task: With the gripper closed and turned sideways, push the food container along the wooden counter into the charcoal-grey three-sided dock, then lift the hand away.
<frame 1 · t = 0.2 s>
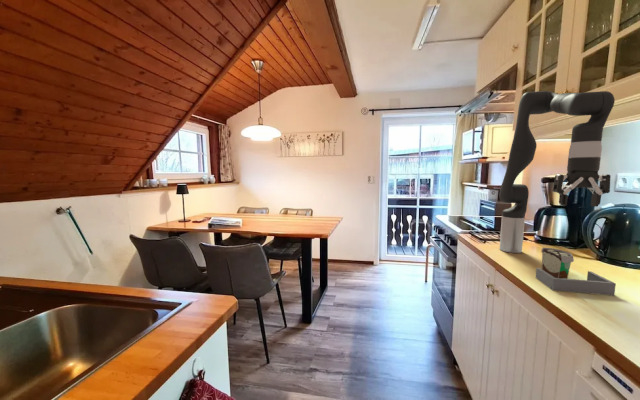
hand: (578, 205, 88), 28 cm above the worktop, tool pointing down, fingers open, 8 cm apart
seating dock: (571, 285, 94), on the worktop
food container: (558, 278, 100), on the worktop
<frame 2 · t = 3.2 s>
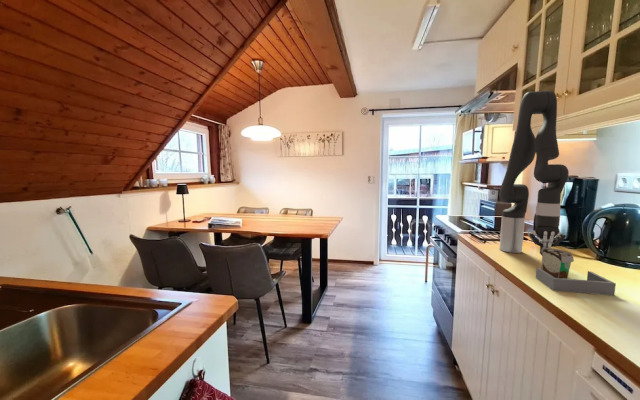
hand: (544, 256, 109), 5 cm above the worktop, tool pointing down, fingers closed
nothing on the worktop moved.
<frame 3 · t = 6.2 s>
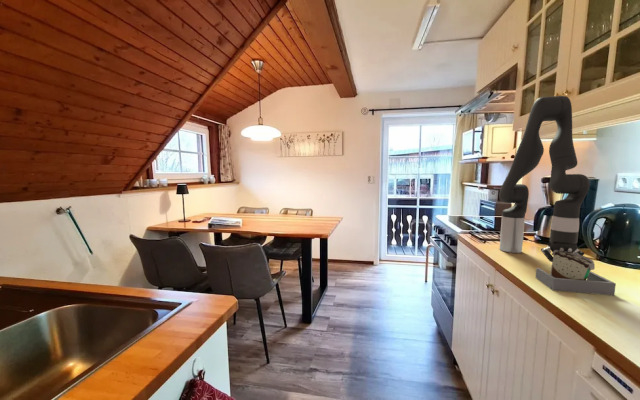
hand: (559, 274, 100), 2 cm above the worktop, tool pointing down, fingers closed
food container: (570, 282, 95), on the worktop, touching gripper
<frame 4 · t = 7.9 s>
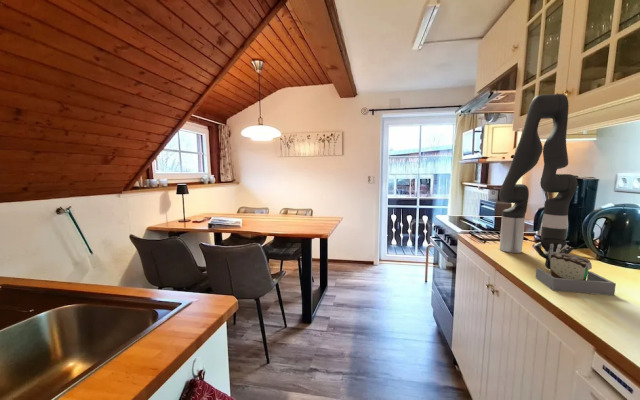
hand: (550, 268, 106), 1 cm above the worktop, tool pointing down, fingers closed
food container: (571, 284, 95), on the worktop
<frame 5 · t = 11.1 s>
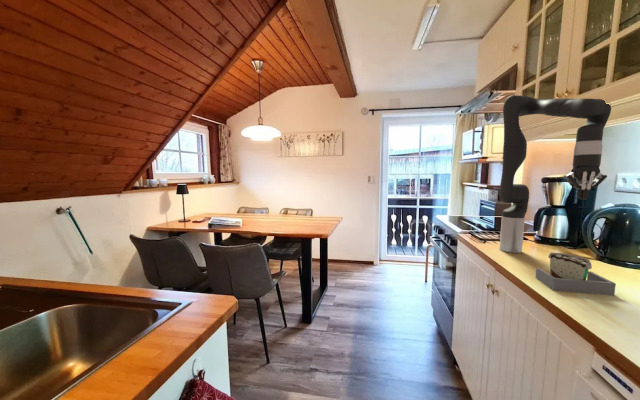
hand: (582, 199, 103), 29 cm above the worktop, tool pointing down, fingers closed
nothing on the worktop moved.
at the end: food container 2.1 cm off-centre on the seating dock, point 0.0 cm above the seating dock's base; food container tilted 0°; food container moved 5.5 cm from its start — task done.
